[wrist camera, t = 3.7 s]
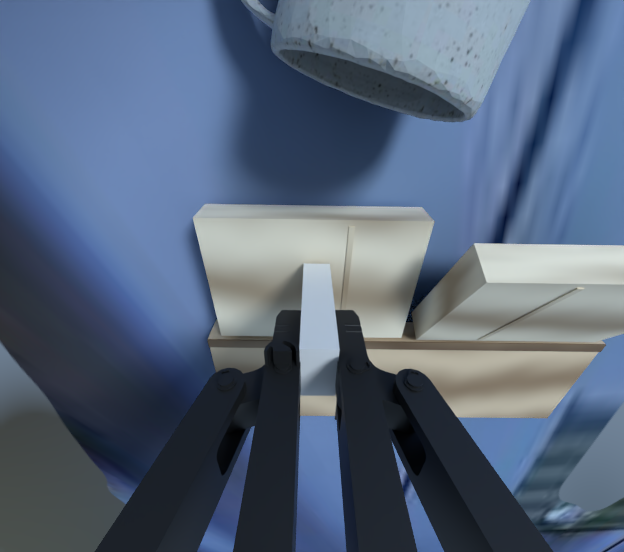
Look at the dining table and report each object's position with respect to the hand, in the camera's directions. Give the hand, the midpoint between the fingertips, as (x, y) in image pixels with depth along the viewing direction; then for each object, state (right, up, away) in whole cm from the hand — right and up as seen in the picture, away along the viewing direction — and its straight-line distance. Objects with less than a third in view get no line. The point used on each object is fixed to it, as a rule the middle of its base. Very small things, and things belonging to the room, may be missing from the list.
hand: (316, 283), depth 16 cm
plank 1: (0, +1, +2) cm, 2 cm away
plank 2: (+13, 0, 0) cm, 13 cm away
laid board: (+6, -7, +7) cm, 12 cm away
